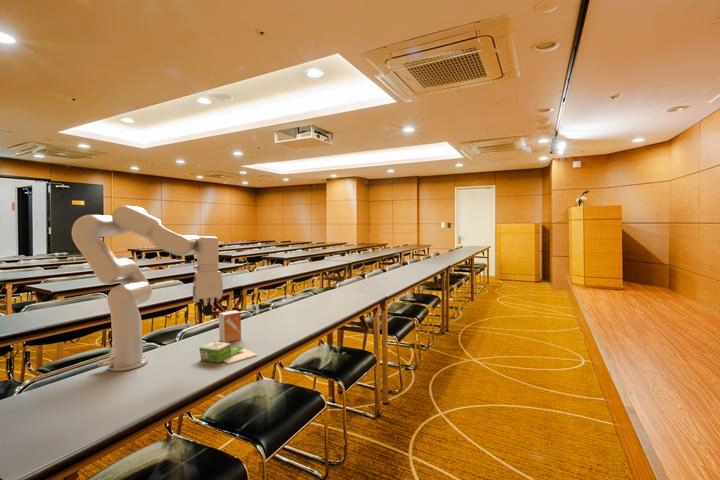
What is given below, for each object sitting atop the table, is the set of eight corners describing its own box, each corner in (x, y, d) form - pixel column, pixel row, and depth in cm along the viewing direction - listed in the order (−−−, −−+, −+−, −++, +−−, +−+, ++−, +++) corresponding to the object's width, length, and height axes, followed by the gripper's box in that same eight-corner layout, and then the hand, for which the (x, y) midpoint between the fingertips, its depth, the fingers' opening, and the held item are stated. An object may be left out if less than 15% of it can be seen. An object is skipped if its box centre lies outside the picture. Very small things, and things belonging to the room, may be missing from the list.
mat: (228, 364, 134) (228, 362, 134) (213, 355, 144) (213, 354, 144) (256, 355, 143) (256, 354, 143) (240, 348, 153) (240, 346, 152)
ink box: (198, 348, 138) (225, 334, 151) (200, 360, 139) (227, 346, 152) (217, 350, 134) (243, 336, 146) (219, 363, 135) (245, 348, 147)
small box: (224, 343, 160) (223, 315, 159) (219, 340, 164) (218, 312, 164) (241, 339, 165) (240, 311, 165) (235, 336, 170) (235, 309, 170)
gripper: (191, 270, 128) (190, 320, 128) (230, 267, 138) (230, 314, 139) (183, 268, 133) (183, 316, 133) (222, 266, 143) (222, 310, 144)
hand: (207, 315), depth 136 cm, fingers closed
